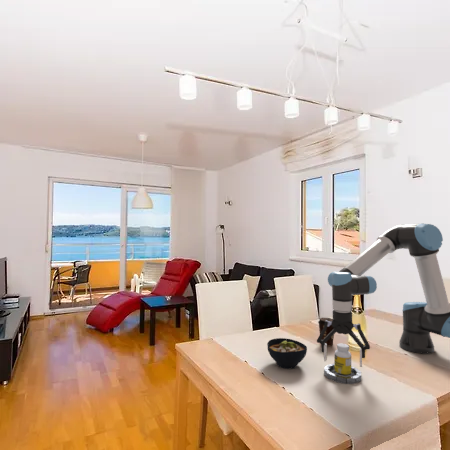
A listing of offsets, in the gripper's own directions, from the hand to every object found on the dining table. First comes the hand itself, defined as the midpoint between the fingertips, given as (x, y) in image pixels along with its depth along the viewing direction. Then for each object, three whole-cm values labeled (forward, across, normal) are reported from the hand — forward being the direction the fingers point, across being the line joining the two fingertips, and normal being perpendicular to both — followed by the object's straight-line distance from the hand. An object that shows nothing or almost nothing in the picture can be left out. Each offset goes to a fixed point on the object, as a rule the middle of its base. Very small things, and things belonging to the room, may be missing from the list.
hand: (342, 363), depth 129 cm
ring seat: (+5, 0, 0) cm, 5 cm away
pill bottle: (+5, 0, 0) cm, 5 cm away
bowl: (+5, +23, -1) cm, 24 cm away
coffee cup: (+5, +10, -36) cm, 38 cm away
